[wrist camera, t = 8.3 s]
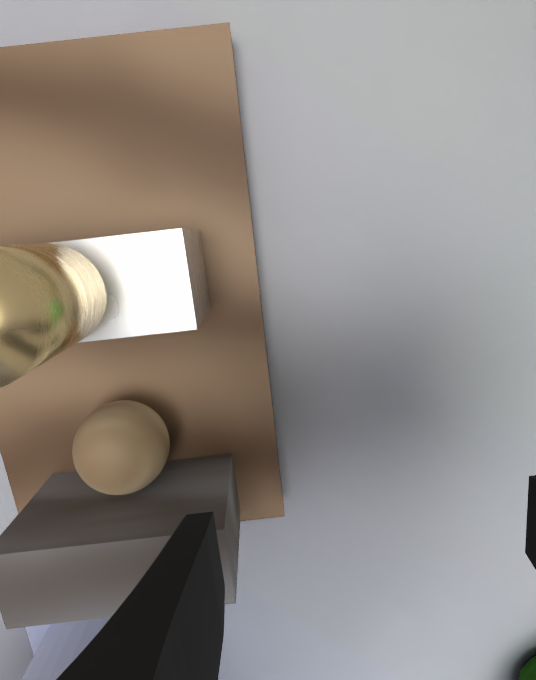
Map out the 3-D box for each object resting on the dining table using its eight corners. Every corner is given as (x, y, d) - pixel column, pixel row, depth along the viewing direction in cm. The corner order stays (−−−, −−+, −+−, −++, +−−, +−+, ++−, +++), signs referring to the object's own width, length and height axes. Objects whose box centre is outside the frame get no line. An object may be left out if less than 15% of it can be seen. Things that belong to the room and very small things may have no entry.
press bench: (282, 496, 21) (294, 608, 15) (43, 523, 21) (-48, 646, 15) (231, 41, 16) (216, -82, 10) (-80, 75, 16) (-294, -26, 10)
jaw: (210, 307, 17) (171, 370, 9) (9, 329, 17) (-202, 411, 9) (199, 229, 16) (147, 225, 8) (-11, 252, 16) (-261, 270, 8)
